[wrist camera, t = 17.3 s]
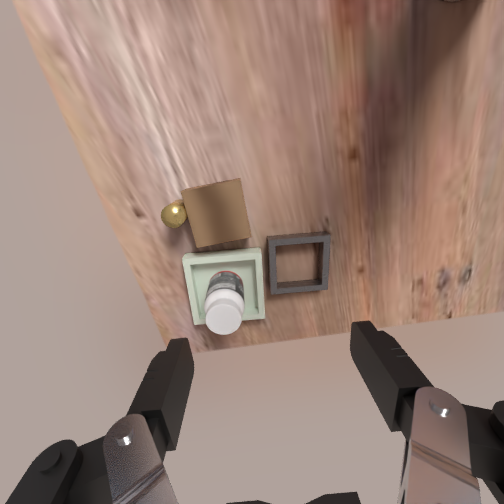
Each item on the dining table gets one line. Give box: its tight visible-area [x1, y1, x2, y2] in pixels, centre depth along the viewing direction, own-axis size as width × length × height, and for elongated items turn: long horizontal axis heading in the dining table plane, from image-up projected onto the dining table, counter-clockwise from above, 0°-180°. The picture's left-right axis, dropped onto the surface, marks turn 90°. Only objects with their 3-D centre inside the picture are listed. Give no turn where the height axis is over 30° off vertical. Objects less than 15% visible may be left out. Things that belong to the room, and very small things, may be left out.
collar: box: [267, 232, 331, 295], centre depth 39 cm, size 10×10×2 cm
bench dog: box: [161, 200, 188, 228], centre depth 34 cm, size 3×3×5 cm
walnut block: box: [181, 178, 252, 248], centre depth 35 cm, size 8×8×4 cm
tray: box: [182, 247, 265, 325], centre depth 40 cm, size 12×12×2 cm
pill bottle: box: [204, 270, 245, 335], centre depth 35 cm, size 6×6×10 cm
